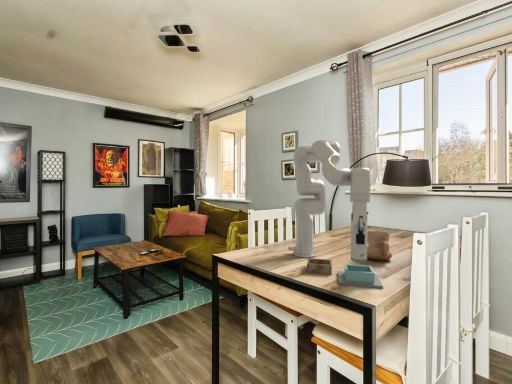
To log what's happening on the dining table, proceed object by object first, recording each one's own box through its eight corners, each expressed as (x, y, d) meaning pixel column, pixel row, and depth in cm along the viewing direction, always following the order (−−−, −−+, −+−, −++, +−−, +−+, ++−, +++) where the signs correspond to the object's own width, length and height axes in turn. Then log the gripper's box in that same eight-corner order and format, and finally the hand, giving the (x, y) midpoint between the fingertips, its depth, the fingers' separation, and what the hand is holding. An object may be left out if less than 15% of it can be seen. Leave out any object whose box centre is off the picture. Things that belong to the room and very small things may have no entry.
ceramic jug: (356, 254, 153) (356, 229, 152) (381, 254, 154) (381, 229, 153) (372, 265, 135) (373, 236, 134) (400, 264, 136) (401, 235, 135)
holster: (306, 272, 122) (306, 263, 121) (308, 266, 131) (308, 258, 131) (331, 274, 119) (331, 265, 119) (331, 268, 128) (331, 259, 128)
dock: (338, 284, 107) (339, 271, 107) (337, 273, 121) (337, 262, 121) (383, 288, 103) (383, 275, 103) (376, 276, 117) (377, 265, 116)
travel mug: (366, 263, 107) (366, 212, 107) (349, 261, 111) (349, 211, 110) (369, 259, 112) (369, 211, 112) (352, 257, 116) (353, 210, 116)
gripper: (348, 197, 120) (348, 238, 121) (351, 199, 104) (351, 246, 104) (366, 197, 118) (366, 238, 119) (373, 199, 102) (372, 247, 102)
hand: (359, 241), depth 111 cm, fingers closed on travel mug, 6 cm apart
